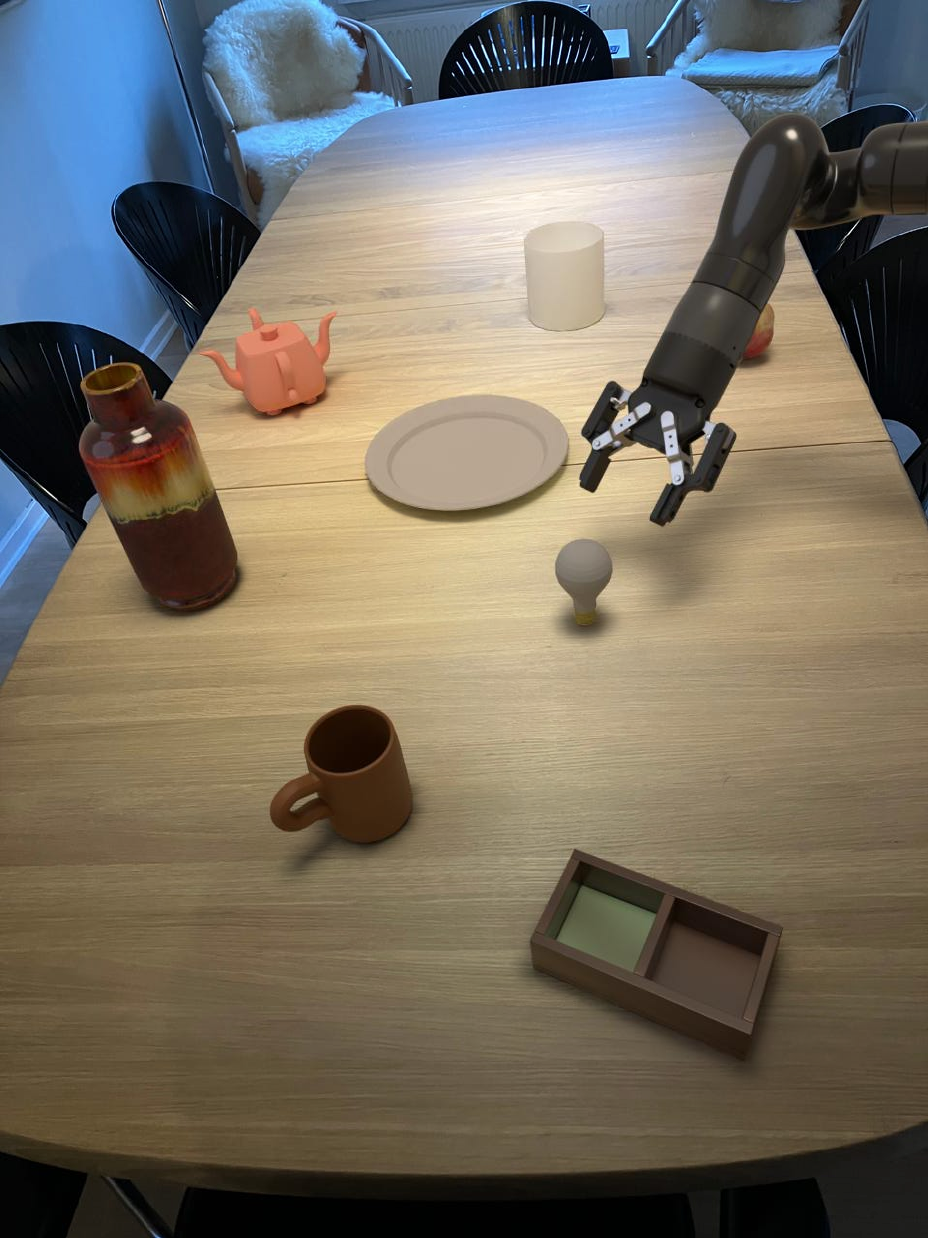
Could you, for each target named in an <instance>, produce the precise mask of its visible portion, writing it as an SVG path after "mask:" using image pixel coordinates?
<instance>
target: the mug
mask: <svg viewBox="0 0 928 1238" xmlns="http://www.w3.org/2000/svg"><path fill="white" fill-rule="evenodd" d="M303 754H304V758H305V762H306V766H307V769H308V770H307V771H308V773H306V774H303V775H301V776H299V777H296V778H293V779H291V780H290V781H288V782H286V783H285V784H284V785H283V786H282V787H281V788H280V789H279V790H278V791H277V792H276V794H275V795H274V796H273V798H272V800H271V803H270V805H269V806H270V807H269V816H270V820H271V822H272V824H273V825H274V826H275V827H276V828H277V829H279V830H281V831H283V832H286V833H294V832H300V831H303V830H305V829H307V828H309V827H310V826H312V825H313V824H315V823H316V822H318V821H322V820H324V819H325V820H327V822H328V824H329V825H330V827H331V828H332V830H333V831H334V832H335V833H336V834H337V835H339V836H340V837H342V838H343V839H346V840H348V841H352V842H355V843H373V842H377V841H380V840H383V839H386V838H388V837H390V836H391V835H393V834H394V833H396V832H397V831H398V830H399V829H400V828H401V827H402V826H403V825H404V824H405V822H406V821H407V820H408V818H409V815H410V813H411V810H412V807H413V792H412V786H411V782H410V778H409V774H408V769H407V765H406V761H405V758H404V754H403V750H402V745H401V742H400V738H399V735H398V733H397V731H396V729H395V725H394V723H393V721H392V720H391V719H390V717H389V716H388V715H387V714H386V713H385V712H383V711H382V710H380V709H378V708H376V707H373V706H370V705H365V704H349V705H348V704H347V705H344V706H339V707H337V708H335V709H334V708H333V709H332V710H330V711H328V712H327V713H324V714H323V715H321V716H320V717H319V718H318V719H317V720H316V721H314V723H313V724H312V725H311V727H310V728H309V730H308V731H307V733H306V735H305V739H304V742H303ZM314 794H317V797H315V798H312V799H310V800H308V801H306V802H305V803H303V804H301V806H299V807H298V808H296V809H294V810H291V809H292V808H293V806H294V805H295V804H296V803H297V802H298V801H300V800H302V799H304V798H306V797H309V796H311V795H314Z"/></svg>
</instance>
